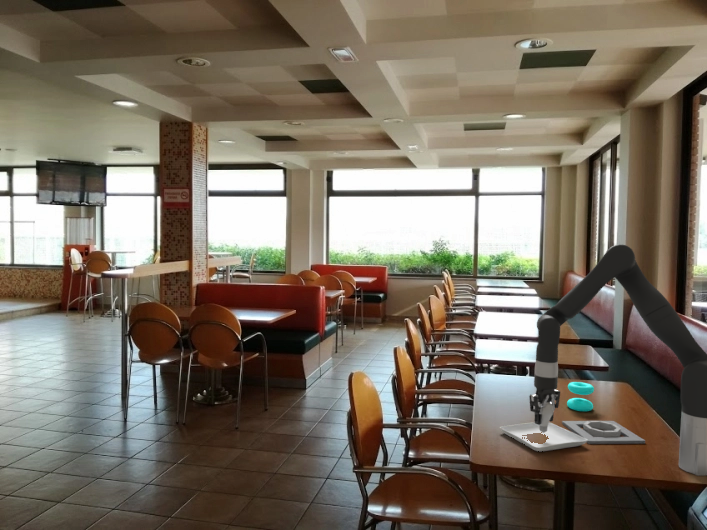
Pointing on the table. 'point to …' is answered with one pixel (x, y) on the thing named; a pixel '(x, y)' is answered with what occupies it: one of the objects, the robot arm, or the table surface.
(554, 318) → the robot arm
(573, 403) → the donuts
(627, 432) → the bulb socket stand
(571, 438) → the salad plate
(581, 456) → the table surface
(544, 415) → the lightbulb
